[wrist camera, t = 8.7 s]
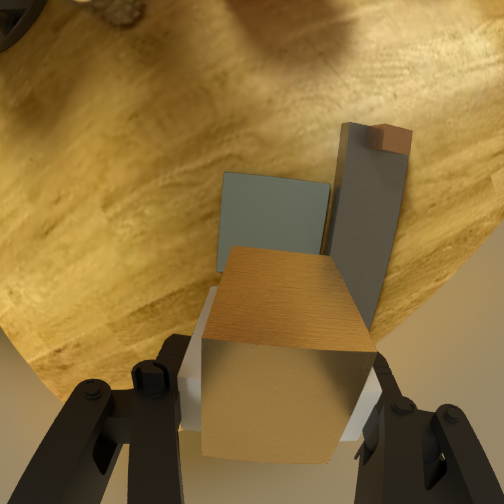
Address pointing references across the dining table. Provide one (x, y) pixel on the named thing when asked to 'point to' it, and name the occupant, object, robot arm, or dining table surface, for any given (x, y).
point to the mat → (271, 214)
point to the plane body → (366, 208)
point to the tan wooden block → (281, 359)
